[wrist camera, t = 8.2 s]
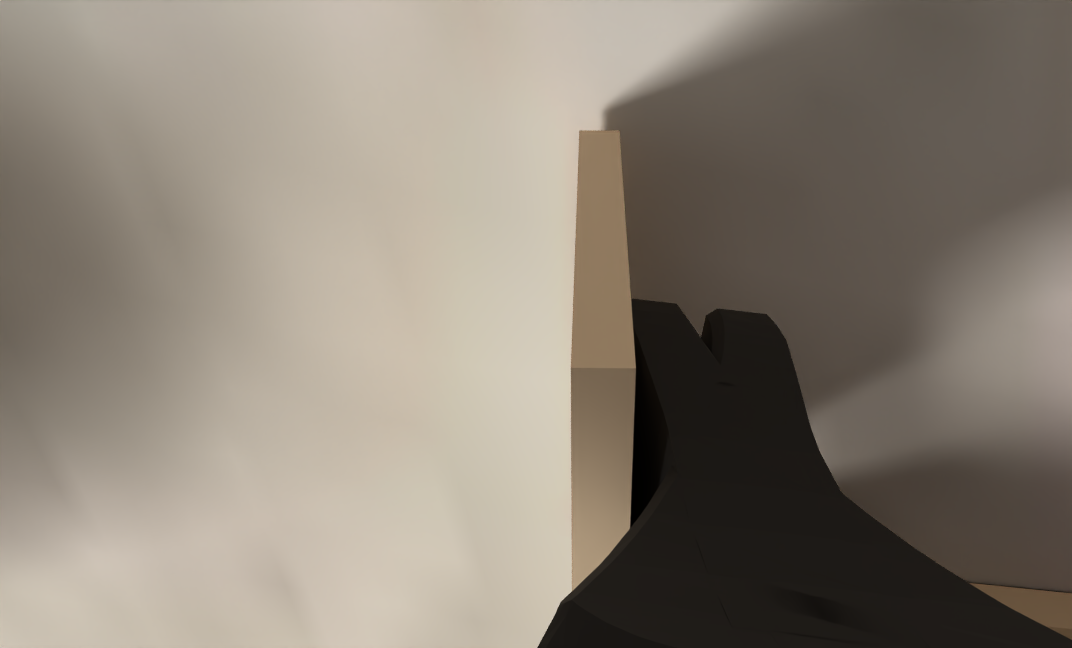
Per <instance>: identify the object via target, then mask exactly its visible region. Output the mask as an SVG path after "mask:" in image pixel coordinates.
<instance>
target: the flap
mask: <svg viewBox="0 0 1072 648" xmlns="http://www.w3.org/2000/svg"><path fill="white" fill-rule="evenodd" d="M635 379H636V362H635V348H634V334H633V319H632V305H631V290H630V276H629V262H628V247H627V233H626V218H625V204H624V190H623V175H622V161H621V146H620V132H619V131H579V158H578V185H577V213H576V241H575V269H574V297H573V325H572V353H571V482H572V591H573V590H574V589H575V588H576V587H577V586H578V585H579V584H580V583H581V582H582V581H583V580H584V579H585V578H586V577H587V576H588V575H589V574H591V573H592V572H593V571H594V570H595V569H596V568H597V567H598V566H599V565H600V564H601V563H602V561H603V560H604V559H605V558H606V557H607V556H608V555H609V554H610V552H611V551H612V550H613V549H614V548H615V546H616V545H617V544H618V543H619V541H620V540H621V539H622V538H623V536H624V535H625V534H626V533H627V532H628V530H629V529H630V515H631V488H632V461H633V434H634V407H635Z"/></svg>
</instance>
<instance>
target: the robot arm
mask: <svg viewBox="0 0 1072 648" xmlns="http://www.w3.org/2000/svg"><path fill="white" fill-rule="evenodd" d="M631 305H632V319H633V334H634V348H635V362H636V379H635V407H634V434H633V461H632V488H631V515H630V529H629V530H628V532H627V533H626V534H625V535H624V536H623V538H622V539H621V540H620V541H619V543H618V544H617V545H616V546H615V548H614V549H613V550H612V551H611V552H610V554H609V555H608V556H607V557H606V558H605V559H604V560H603V561H602V563H601V564H600V565H599V566H598V567H597V568H596V569H595V570H594V571H593V572H592V573H591V574H589V575H588V576H587V577H586V578H585V579H584V580H583V581H582V582H581V583H580V584H579V585H578V586H577V587H576V588H575V589H574V590H573V591H572V592H571V593H570V594H569V595H568V596H567V597H566V598H565V599H563V600H562V601H561V603H560V605H559V607H558V609H557V612H556V614H555V616H554V618H553V620H552V622H551V623H550V625H549V627H548V629H547V631H546V633H545V635H544V636H543V638H542V640H541V642H540V644H539V646H538V648H1072V640H1071V639H1069V638H1067V637H1065V636H1063V635H1061V634H1060V633H1058V632H1056V631H1054V630H1052V629H1050V628H1048V627H1046V626H1044V625H1042V624H1040V623H1038V622H1036V621H1034V620H1033V619H1031V618H1029V617H1027V616H1025V615H1023V614H1021V613H1019V612H1017V611H1015V610H1013V609H1011V608H1010V607H1008V606H1006V605H1004V604H1003V603H1001V602H999V601H998V600H996V599H994V598H993V597H991V596H989V595H988V594H986V593H984V592H983V591H981V590H979V589H978V588H976V587H975V586H973V585H971V584H970V583H968V582H966V581H965V580H963V579H961V578H960V577H958V576H956V575H955V574H953V573H952V572H950V571H948V570H947V569H945V568H944V567H942V566H941V565H939V564H938V563H936V562H935V561H933V560H932V559H930V558H929V557H927V556H926V555H924V554H923V553H921V552H920V551H918V550H917V549H915V548H914V547H912V546H911V545H909V544H908V543H907V542H905V541H904V540H902V539H901V538H900V537H898V536H897V535H896V534H894V533H893V532H892V531H890V530H889V529H888V528H886V527H885V526H883V525H882V524H881V523H879V522H878V521H877V520H875V519H874V518H873V517H871V516H870V515H869V514H867V513H866V512H865V511H863V510H862V509H861V508H860V507H858V506H857V505H856V504H855V503H853V502H852V501H851V500H850V499H848V498H847V497H846V496H845V495H844V494H842V493H841V491H840V489H839V487H838V486H837V484H836V482H835V480H834V478H833V476H832V474H831V472H830V471H829V469H828V467H827V465H826V463H825V461H824V459H823V457H822V455H821V454H820V451H819V449H818V446H817V444H816V441H815V438H814V436H813V433H812V430H811V427H810V423H809V419H808V416H807V412H806V408H805V405H804V401H803V397H802V394H801V390H800V386H799V383H798V379H797V375H796V372H795V368H794V365H793V361H792V358H791V354H790V351H789V348H788V345H787V342H786V339H785V338H784V336H783V334H782V333H781V331H780V330H779V328H778V327H777V325H776V324H775V323H774V322H773V321H772V320H771V319H770V317H769V316H768V315H767V314H760V313H751V312H742V311H734V310H725V309H716V310H714V311H713V312H711V313H710V314H708V315H706V318H705V323H704V327H703V332H702V336H701V337H700V336H699V335H698V333H697V332H696V330H695V329H694V327H693V326H692V325H691V323H690V322H689V320H688V319H687V318H686V316H685V315H684V313H683V312H682V311H681V309H680V308H679V307H678V305H677V304H673V303H665V302H656V301H647V300H639V299H631Z"/></svg>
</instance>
